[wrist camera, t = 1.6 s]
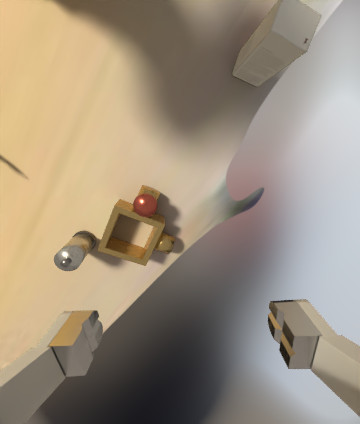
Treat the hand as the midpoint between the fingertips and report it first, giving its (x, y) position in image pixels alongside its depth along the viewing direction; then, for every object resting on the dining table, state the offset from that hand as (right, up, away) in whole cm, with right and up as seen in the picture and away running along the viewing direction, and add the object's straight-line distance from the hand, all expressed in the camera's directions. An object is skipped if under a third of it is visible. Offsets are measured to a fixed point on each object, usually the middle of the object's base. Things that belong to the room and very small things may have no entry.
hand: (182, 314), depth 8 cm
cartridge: (-22, -2, +30) cm, 37 cm away
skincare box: (+13, +33, +25) cm, 43 cm away
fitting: (-8, +3, +31) cm, 32 cm away
